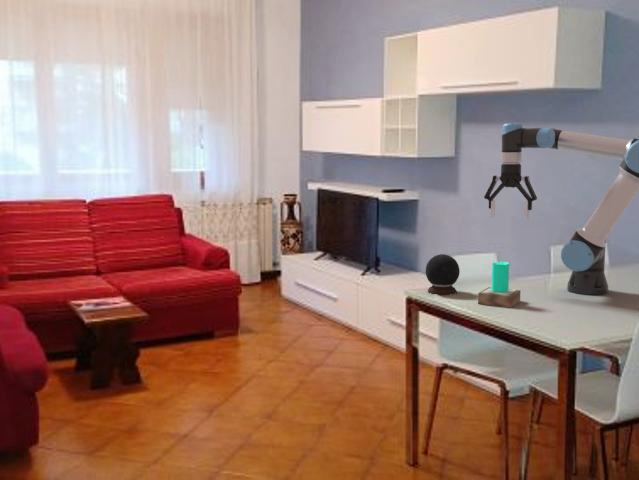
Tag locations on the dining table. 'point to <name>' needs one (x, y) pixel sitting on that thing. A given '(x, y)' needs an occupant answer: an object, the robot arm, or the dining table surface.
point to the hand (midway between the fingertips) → (509, 217)
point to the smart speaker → (442, 274)
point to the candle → (500, 277)
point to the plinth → (499, 297)
